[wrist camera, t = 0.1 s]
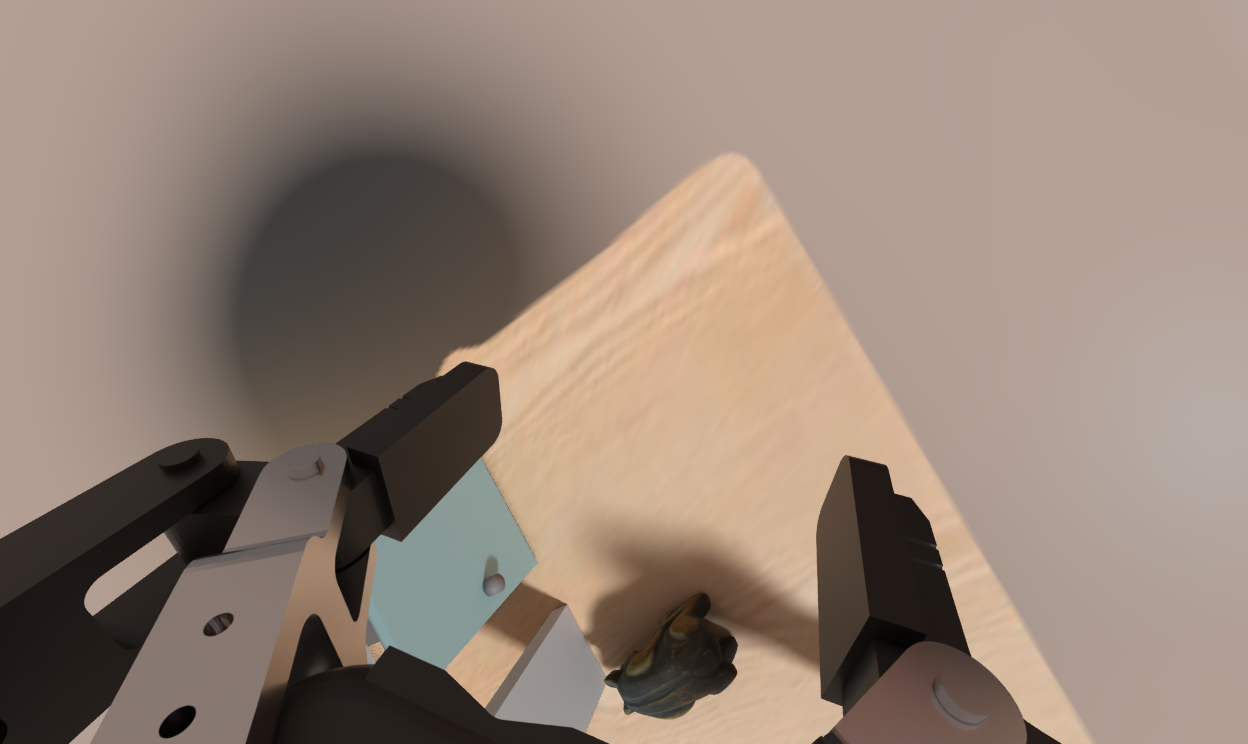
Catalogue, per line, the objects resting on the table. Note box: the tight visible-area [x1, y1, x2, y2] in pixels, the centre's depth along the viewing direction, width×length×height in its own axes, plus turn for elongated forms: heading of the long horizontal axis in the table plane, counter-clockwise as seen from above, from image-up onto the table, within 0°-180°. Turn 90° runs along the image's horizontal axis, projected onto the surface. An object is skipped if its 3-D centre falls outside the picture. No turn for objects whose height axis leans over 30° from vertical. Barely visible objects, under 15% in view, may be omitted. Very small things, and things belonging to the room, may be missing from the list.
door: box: [368, 458, 537, 669], centre depth 40 cm, size 16×2×18 cm, turn 31°
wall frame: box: [366, 605, 606, 733], centre depth 39 cm, size 32×2×22 cm, turn 31°
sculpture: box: [604, 593, 738, 719], centre depth 43 cm, size 13×6×7 cm, turn 131°
